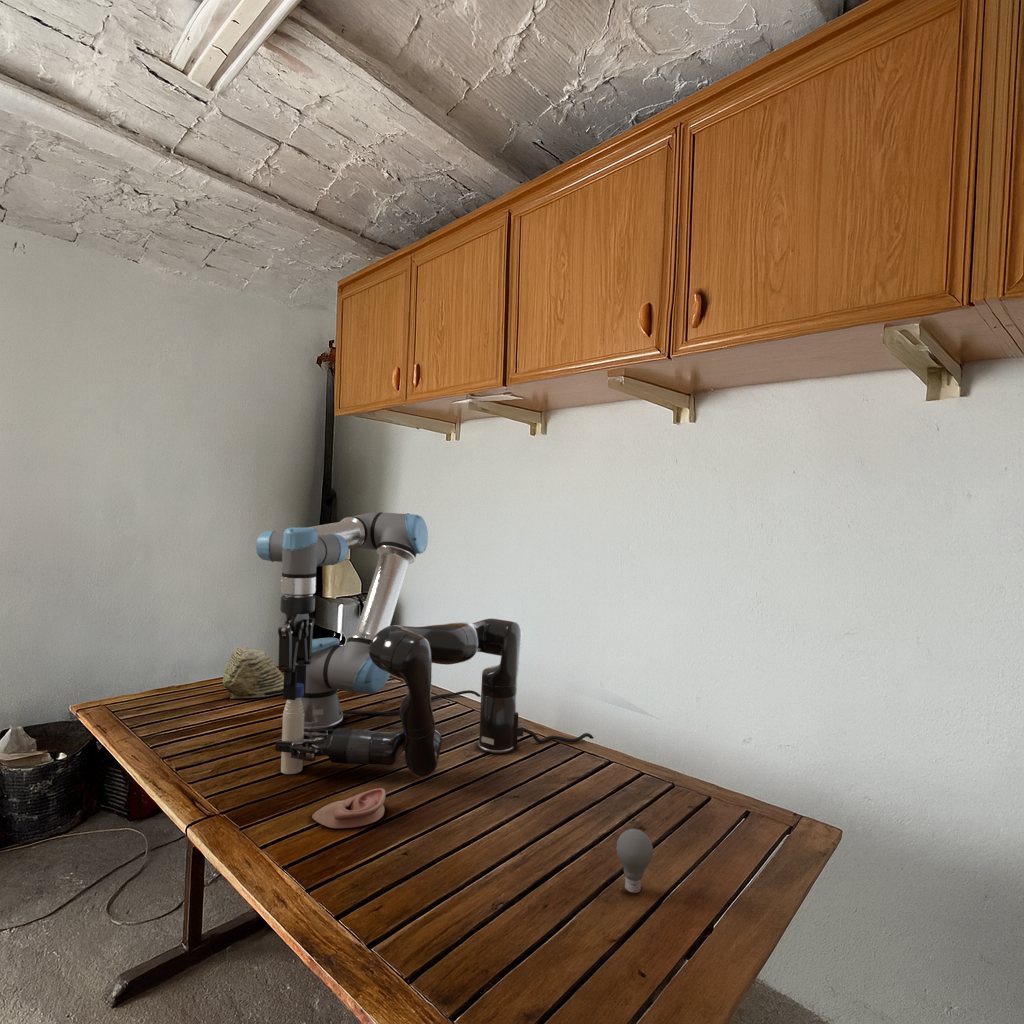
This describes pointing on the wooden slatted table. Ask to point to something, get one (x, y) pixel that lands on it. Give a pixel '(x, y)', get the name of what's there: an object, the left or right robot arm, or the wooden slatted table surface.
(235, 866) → the wooden slatted table surface
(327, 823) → the anatomical model
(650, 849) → the light bulb
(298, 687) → the cap
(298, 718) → the bottle
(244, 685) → the fossil
